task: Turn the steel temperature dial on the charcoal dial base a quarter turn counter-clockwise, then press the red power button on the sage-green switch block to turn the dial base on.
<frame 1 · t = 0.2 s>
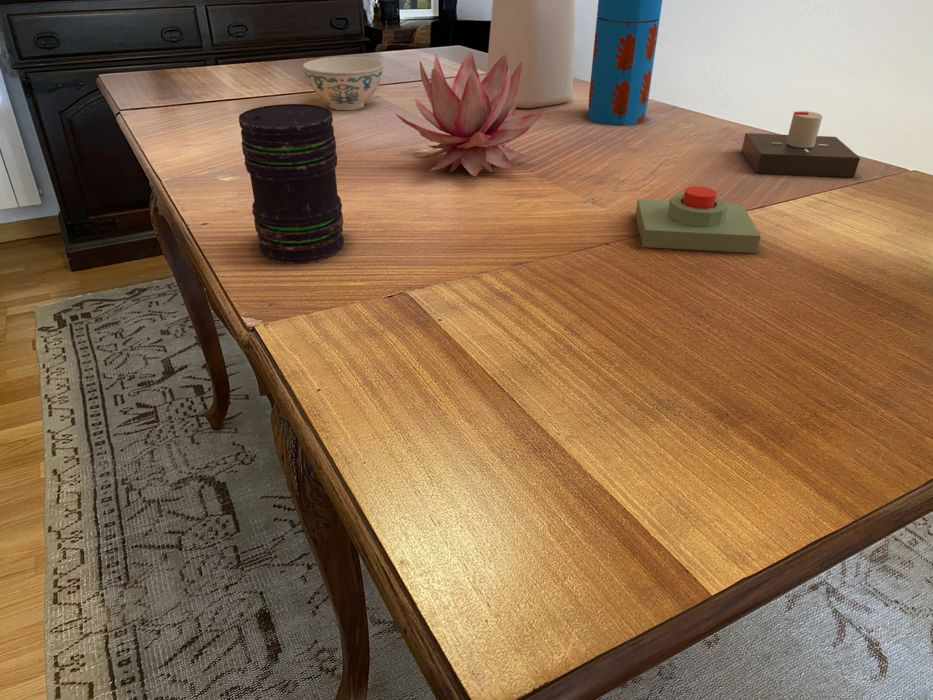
thermos: (616, 118, 132), on the table
temp dial: (804, 128, 107), point 5 cm above the table, hinge at 0.0°
switch block: (692, 233, 86), on the table
dial base: (794, 164, 109), on the table
decorative flower: (469, 166, 108), on the table
chinaware: (346, 107, 138), on the table
power button: (699, 198, 84), point 4 cm above the table, slide at 0.1 cm
plastic bottle: (528, 100, 144), on the table
dark brown cylinder: (302, 247, 82), on the table
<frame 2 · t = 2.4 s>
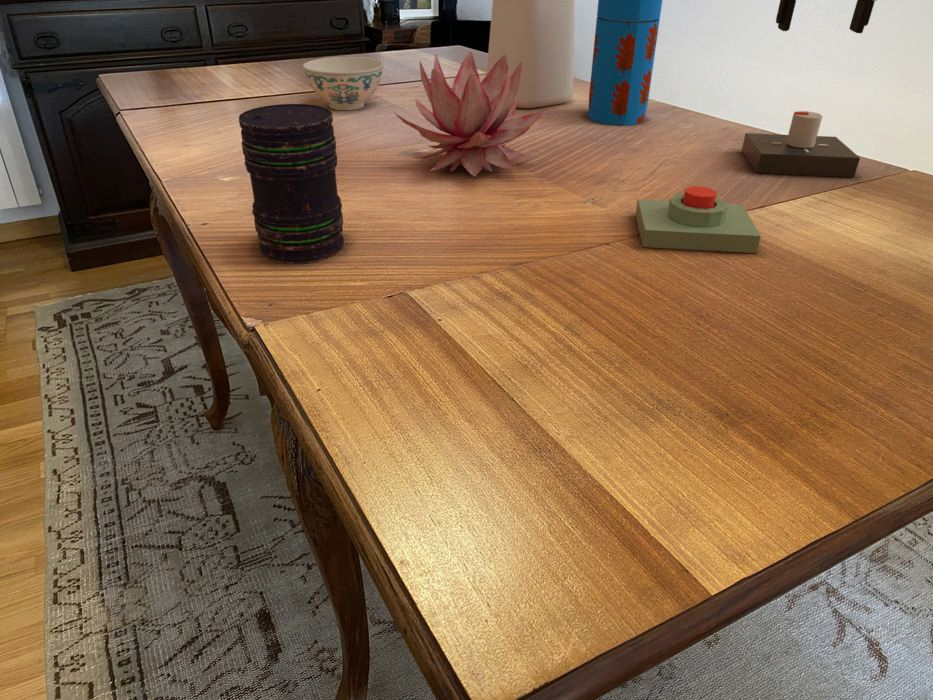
hand: (819, 30, 97), 19 cm above the table, tool pointing down, fingers open, 9 cm apart
nothing on the table moved.
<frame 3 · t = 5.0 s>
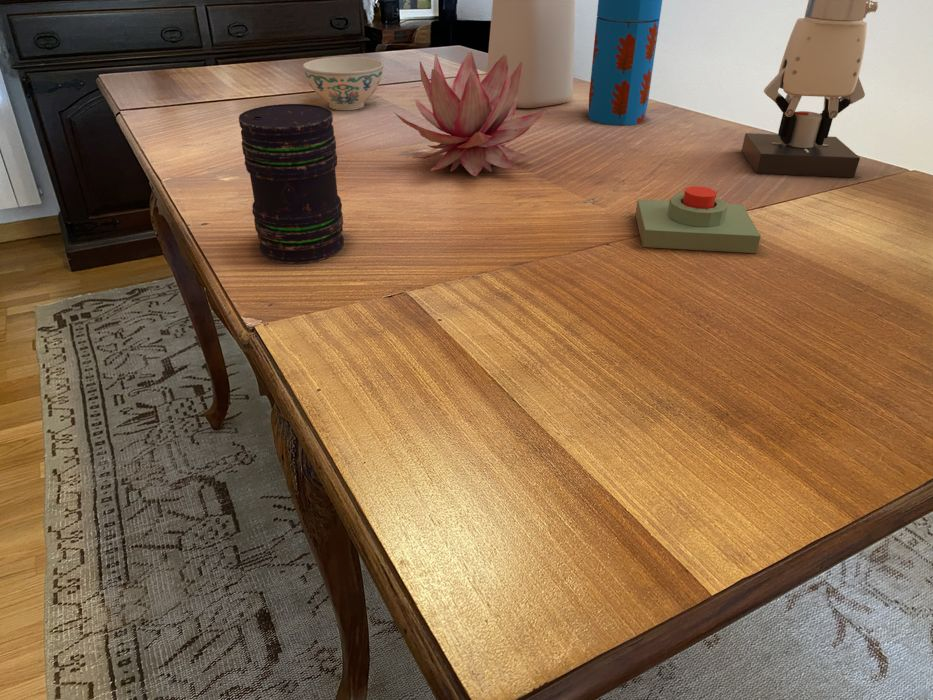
hand: (801, 140, 108), 4 cm above the table, tool pointing down, fingers closed on temp dial, 4 cm apart
temp dial: (804, 128, 107), point 5 cm above the table, hinge at 0.2°, touching gripper
everything else where it was.
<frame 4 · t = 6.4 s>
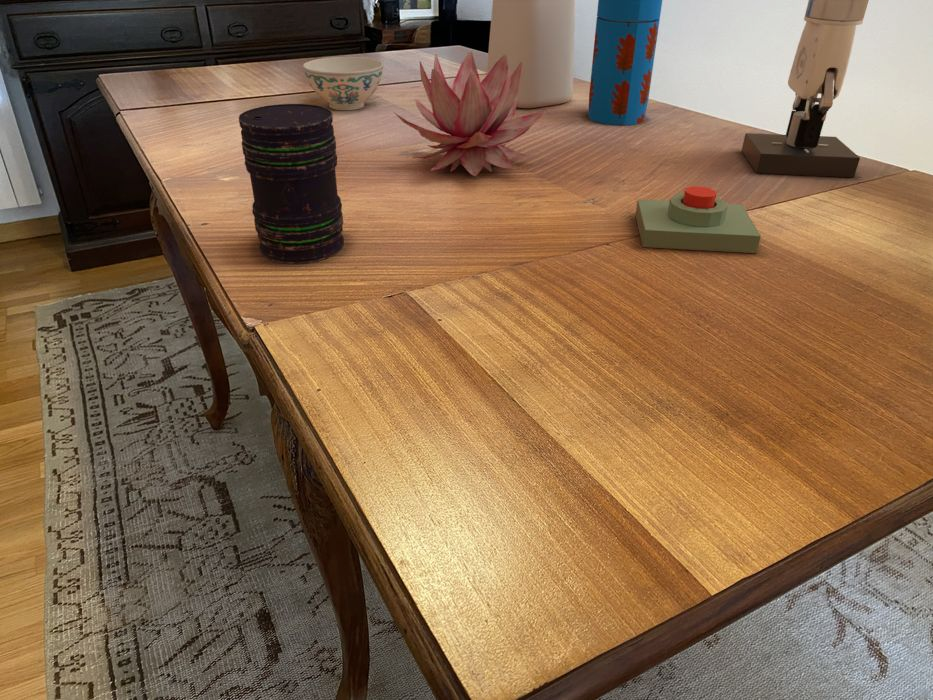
hand: (800, 140, 108), 4 cm above the table, tool pointing down, fingers closed on temp dial, 4 cm apart
temp dial: (804, 128, 107), point 5 cm above the table, hinge at 89.6°, touching gripper
everything else where it was.
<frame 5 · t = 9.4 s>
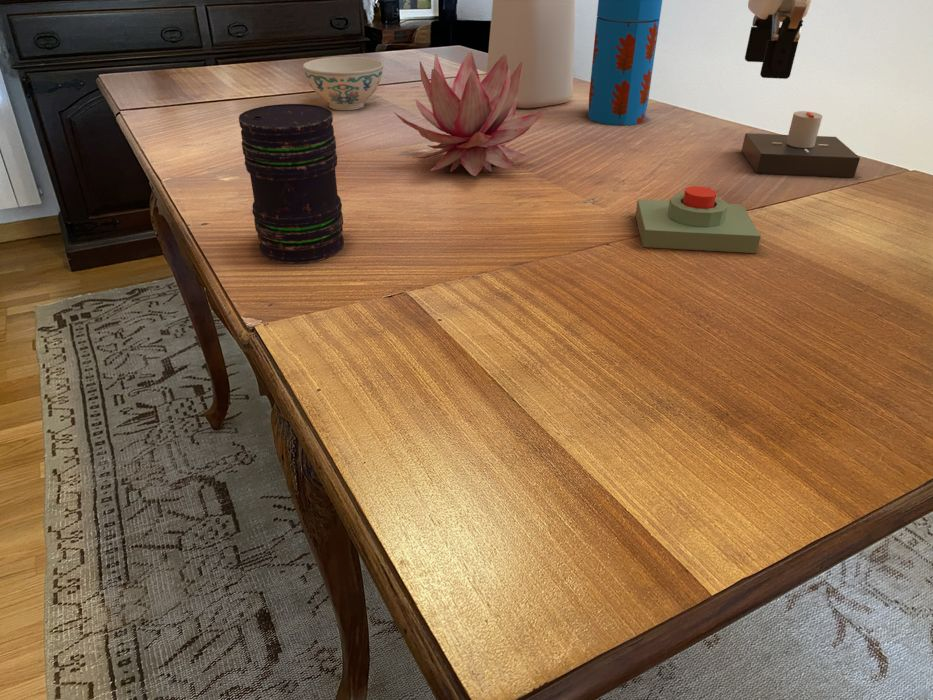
hand: (765, 69, 86), 17 cm above the table, tool pointing down, fingers open, 9 cm apart
temp dial: (804, 128, 107), point 5 cm above the table, hinge at 88.7°
everything else where it was.
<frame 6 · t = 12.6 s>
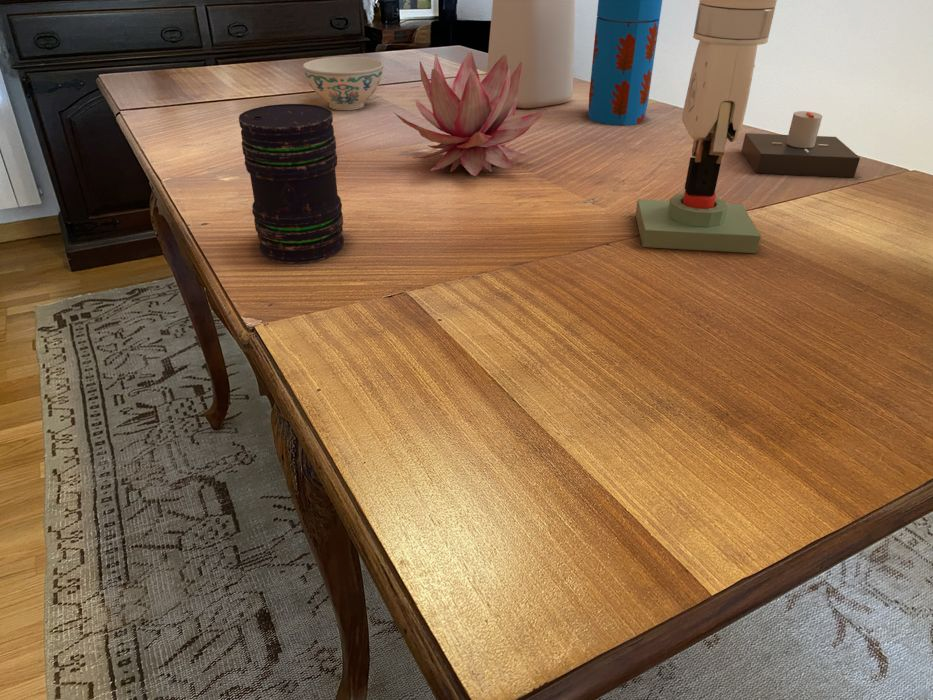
hand: (698, 192, 83), 5 cm above the table, tool pointing down, fingers closed
power button: (698, 200, 84), point 4 cm above the table, slide at -0.2 cm, touching gripper
everything else where it was.
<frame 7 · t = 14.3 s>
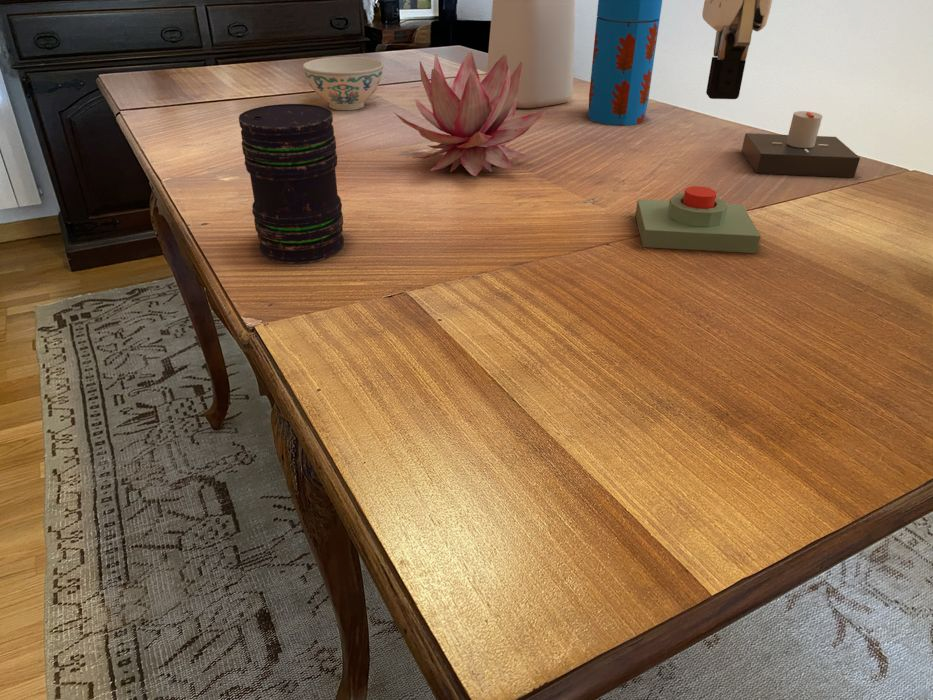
hand: (721, 96, 77), 16 cm above the table, tool pointing down, fingers closed
power button: (699, 198, 84), point 4 cm above the table, slide at 0.1 cm
everything else where it was.
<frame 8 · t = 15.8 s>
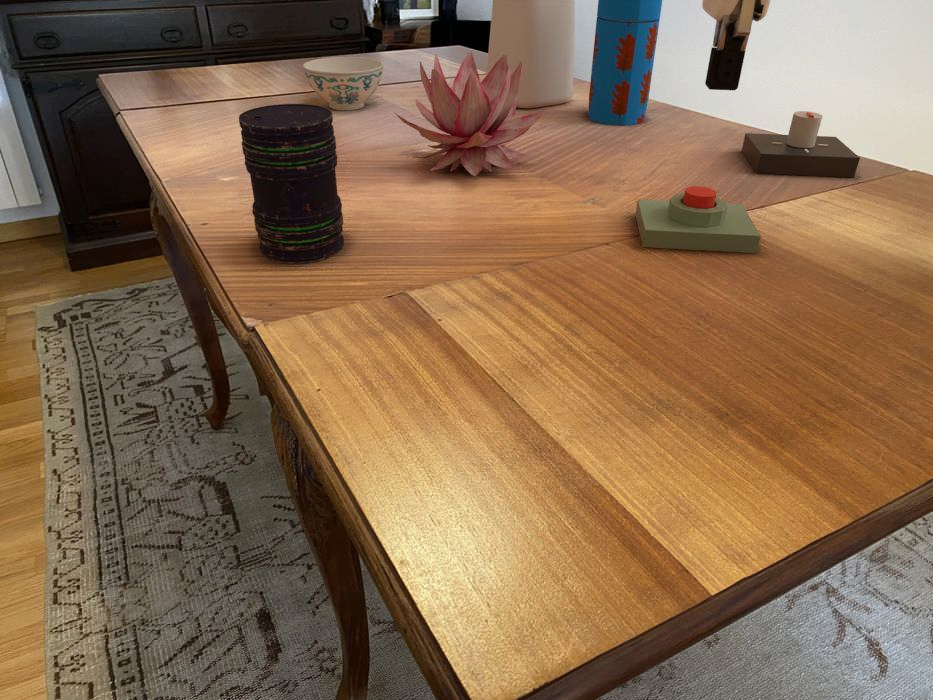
hand: (720, 87, 77), 17 cm above the table, tool pointing down, fingers closed
nothing on the table moved.
at the end: temp dial at +89° (first picture: +0°); power button pushed in 1.1 cm at the most during the clip, back to where it started at the end; power button slide at 0.1 cm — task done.
